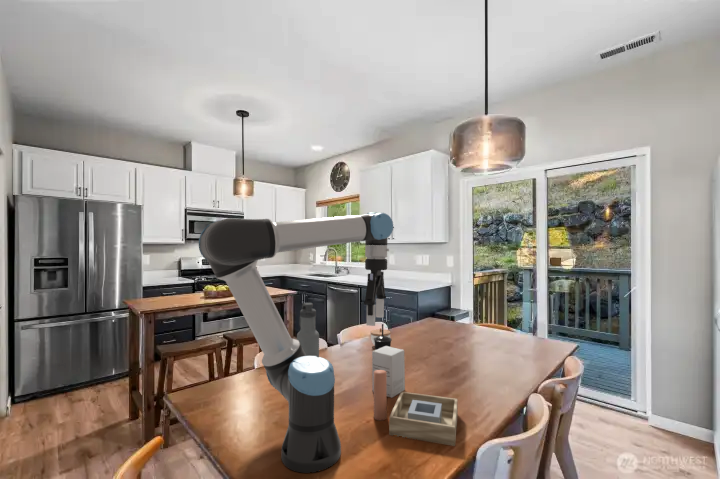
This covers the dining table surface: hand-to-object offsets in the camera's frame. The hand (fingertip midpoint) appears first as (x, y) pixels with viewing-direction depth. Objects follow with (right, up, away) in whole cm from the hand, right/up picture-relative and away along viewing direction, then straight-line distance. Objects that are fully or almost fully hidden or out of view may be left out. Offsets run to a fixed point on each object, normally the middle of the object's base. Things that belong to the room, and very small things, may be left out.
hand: (375, 321), depth 116 cm
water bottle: (-28, -29, +37) cm, 55 cm away
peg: (+1, -28, -9) cm, 29 cm away
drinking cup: (+4, -29, +31) cm, 43 cm away
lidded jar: (+6, -30, +68) cm, 74 cm away
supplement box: (+5, -29, +11) cm, 31 cm away
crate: (+14, -28, -13) cm, 34 cm away
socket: (+14, -28, -13) cm, 34 cm away
